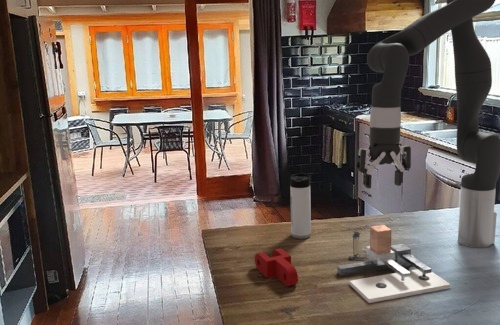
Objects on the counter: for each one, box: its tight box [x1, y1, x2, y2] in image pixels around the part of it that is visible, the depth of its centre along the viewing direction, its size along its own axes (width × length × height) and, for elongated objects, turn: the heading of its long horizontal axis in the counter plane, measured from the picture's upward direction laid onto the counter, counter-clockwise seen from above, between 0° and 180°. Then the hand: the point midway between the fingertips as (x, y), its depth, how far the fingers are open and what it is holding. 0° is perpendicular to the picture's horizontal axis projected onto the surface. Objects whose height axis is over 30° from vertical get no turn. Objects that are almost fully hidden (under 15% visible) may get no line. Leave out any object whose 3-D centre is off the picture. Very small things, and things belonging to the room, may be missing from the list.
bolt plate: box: [349, 268, 451, 304], centre depth 122 cm, size 22×10×1 cm, turn 105°
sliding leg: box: [365, 224, 410, 281], centre depth 127 cm, size 5×16×10 cm, turn 15°
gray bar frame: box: [336, 243, 433, 277], centre depth 127 cm, size 22×14×5 cm, turn 105°
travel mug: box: [289, 172, 312, 240], centre depth 156 cm, size 6×7×20 cm
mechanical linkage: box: [254, 248, 299, 287], centre depth 130 cm, size 16×7×5 cm, turn 23°
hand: (382, 186), depth 128 cm, fingers open, 8 cm apart
